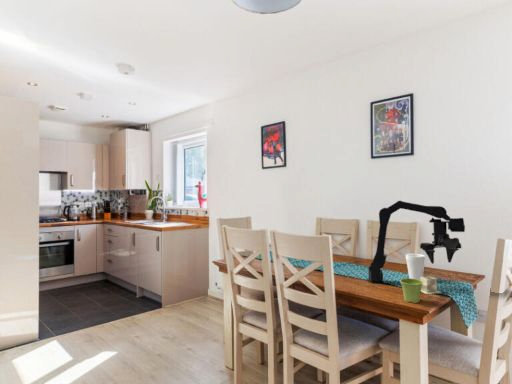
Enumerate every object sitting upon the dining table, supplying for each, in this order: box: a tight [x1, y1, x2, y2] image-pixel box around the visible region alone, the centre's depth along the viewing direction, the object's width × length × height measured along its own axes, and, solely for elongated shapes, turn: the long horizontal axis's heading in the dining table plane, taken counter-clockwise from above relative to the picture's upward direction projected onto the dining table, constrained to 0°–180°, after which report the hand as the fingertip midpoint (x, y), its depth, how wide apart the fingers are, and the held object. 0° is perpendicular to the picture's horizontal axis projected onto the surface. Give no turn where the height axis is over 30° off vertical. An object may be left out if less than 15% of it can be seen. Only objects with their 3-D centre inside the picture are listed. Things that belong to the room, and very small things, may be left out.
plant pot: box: [399, 278, 423, 304], centre depth 145 cm, size 9×9×9 cm
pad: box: [421, 290, 443, 295], centre depth 158 cm, size 8×8×1 cm
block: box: [420, 275, 438, 292], centre depth 158 cm, size 5×5×6 cm
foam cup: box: [405, 253, 426, 280], centre depth 179 cm, size 10×9×13 cm
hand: (441, 262), depth 164 cm, fingers open, 9 cm apart
